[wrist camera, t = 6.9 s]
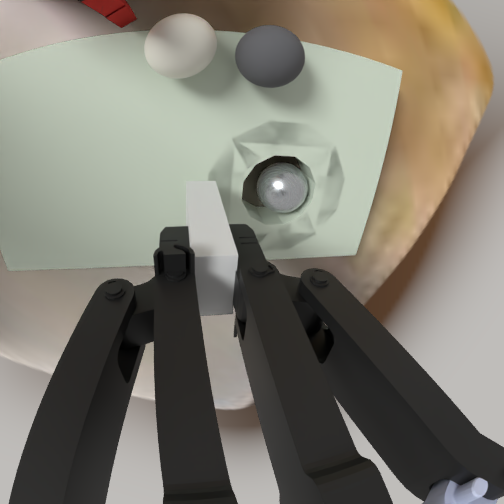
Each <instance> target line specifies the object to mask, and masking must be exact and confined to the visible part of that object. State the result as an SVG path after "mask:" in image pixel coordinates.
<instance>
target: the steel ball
mask: <svg viewBox="0 0 504 504" xmlns="http://www.w3.org/2000/svg"><path fill="white" fill-rule="evenodd" d="M307 191H308V185H307V180H306V178H305V176H304V174H303V173H302V171H301V170H300V169H299V168H297V167H296V166H294V165H292V164H289V163H285V162H280V163H274V164H272V165H270V166H268V167H267V168H265V169H264V170H263V171H262V173H261V174H260V176H259V178H258V181H257V194H258V197H259V199H260V201H261V202H262V204H263V205H264V206H265V207H267V208H268V209H270V210H271V211H274V212H278V213H287V212H291V211H293V210H295V209H297V208H298V207H299V206H301V204H302V203H303V202H304V200H305V198H306V196H307Z"/></svg>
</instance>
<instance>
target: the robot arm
mask: <svg viewBox="0 0 504 504" xmlns="http://www.w3.org/2000/svg"><path fill="white" fill-rule="evenodd" d="M153 258H154V268H155V277H153V278H152V279H151V280H150V281H148V282H146V283H144V284H141V285H137V286H133V284H132V283H130V282H129V281H127V280H124V279H111V280H108V281H106V282H104V283H102V284H101V285H100V286H99V287H98V288H97V290H96V291H95V293H94V295H93V297H92V298H91V300H90V302H89V304H88V305H87V307H86V309H85V311H84V313H83V315H82V316H81V318H80V320H79V322H78V324H77V326H76V328H75V330H74V332H73V334H72V336H71V338H70V340H69V342H68V344H67V346H66V348H65V350H64V352H63V354H62V356H61V358H60V360H59V362H58V364H57V367H56V369H55V371H54V373H53V375H52V378H51V380H50V382H49V385H48V387H47V389H46V391H45V394H44V396H43V399H42V401H41V404H40V406H39V408H38V411H37V414H36V416H35V419H34V421H33V424H32V427H31V430H30V432H29V435H28V438H27V441H26V444H25V447H24V450H23V453H22V456H21V460H20V463H19V466H18V469H17V473H16V477H15V480H14V484H13V488H12V492H11V496H10V500H9V504H105V502H106V496H107V492H108V487H109V481H110V477H111V472H112V467H113V464H114V459H115V455H116V450H117V446H118V442H119V438H120V434H121V430H122V426H123V422H124V419H125V415H126V411H127V407H128V404H129V400H130V397H131V393H132V390H133V386H134V383H135V379H136V376H137V372H138V369H139V366H140V363H141V359H142V356H143V353H144V350H145V344H147V343H150V342H153V341H154V379H155V402H156V418H157V430H158V431H157V432H158V443H159V453H160V462H161V471H162V479H163V487H164V497H163V504H238V503H237V500H236V497H235V494H234V492H233V490H232V487H231V483H230V479H229V475H228V471H227V466H226V462H225V457H224V452H223V447H222V443H221V438H220V433H219V428H218V423H217V417H216V412H215V407H214V401H213V396H212V390H211V384H210V378H209V372H208V366H207V360H206V353H205V347H204V340H203V333H202V326H201V319H200V316H207V315H222V314H233V306H234V308H235V312H236V317H235V327H234V337H237V334H238V338H239V342H240V347H241V351H242V355H243V359H244V363H245V367H246V371H247V375H248V378H249V382H250V386H251V390H252V394H253V398H254V402H255V405H256V409H257V413H258V417H259V420H260V424H261V428H262V431H263V435H264V439H265V442H266V446H267V449H268V453H269V456H270V460H271V463H272V467H273V470H274V474H275V477H276V481H277V484H278V488H279V493H280V504H393V503H392V500H391V498H390V495H389V493H388V490H387V488H386V486H385V483H384V481H383V479H382V476H381V474H380V472H379V470H378V468H377V467H376V465H375V464H374V463H373V462H372V461H371V460H370V459H367V458H364V457H362V456H361V455H360V454H359V453H358V452H357V450H356V447H355V445H354V443H353V440H352V438H351V436H350V433H349V431H348V428H347V426H346V424H345V421H344V419H343V417H342V414H341V412H340V410H339V407H338V405H337V403H336V400H335V398H336V399H337V400H338V402H339V403H340V404H341V406H342V407H343V408H344V410H345V411H346V412H347V414H348V415H349V416H350V418H351V419H352V420H353V422H354V423H355V424H356V426H357V427H358V428H359V430H360V431H361V432H362V433H363V435H364V436H365V437H366V438H367V440H368V441H369V442H370V444H371V445H372V446H373V448H374V449H375V450H376V452H377V453H378V454H379V456H380V457H381V458H382V459H383V460H384V462H385V463H386V465H387V466H388V467H389V468H390V470H391V471H392V472H393V474H394V475H395V476H396V477H397V479H398V480H399V481H400V482H401V483H402V484H403V485H404V487H405V488H406V489H408V490H409V491H410V492H411V493H412V494H414V495H415V496H416V497H418V498H419V499H421V500H422V501H424V502H423V503H422V504H496V503H497V500H498V498H500V497H502V496H504V447H502V446H500V445H499V444H497V443H495V442H494V441H492V440H490V439H488V438H487V437H485V436H484V435H482V434H480V433H479V432H478V430H476V428H475V427H474V426H473V425H472V423H471V422H470V421H469V420H468V419H467V418H466V416H465V415H464V414H463V413H462V412H461V411H460V410H459V408H458V407H457V406H456V405H455V404H454V403H453V401H451V399H450V398H449V397H448V396H447V395H446V394H445V393H444V391H443V390H442V389H441V388H440V387H439V386H438V385H437V383H436V382H435V381H434V380H433V379H432V378H431V377H430V376H429V375H428V374H427V372H426V371H425V370H424V369H423V368H422V367H421V366H420V365H419V364H418V363H417V362H416V361H415V359H414V358H413V357H412V356H411V355H410V354H409V353H408V352H407V351H406V350H405V349H404V348H403V347H402V345H401V344H399V342H398V341H397V340H396V339H395V338H394V337H393V336H392V335H391V334H390V333H389V332H388V331H387V330H386V329H385V328H384V327H383V326H382V325H381V323H380V322H379V321H378V320H377V319H376V318H375V317H374V316H373V315H372V314H371V313H370V312H369V311H368V310H367V309H366V308H365V307H364V306H363V305H362V304H361V303H360V302H359V301H358V300H357V299H356V298H355V297H354V296H353V295H352V294H351V293H350V292H349V291H348V290H347V289H346V288H345V287H344V286H343V285H342V284H341V283H340V282H339V281H338V280H337V279H336V278H335V277H334V276H333V275H332V274H330V273H329V272H327V271H325V270H322V269H316V268H313V269H308V270H305V271H304V272H303V273H302V274H301V278H297V277H291V276H286V275H282V274H280V273H279V271H278V269H277V268H276V267H275V266H274V265H273V264H271V263H270V262H267V261H266V258H265V256H264V254H263V251H262V249H261V247H260V244H259V242H258V240H257V238H256V235H255V233H254V230H253V229H252V228H250V227H249V226H248V225H247V224H229V223H228V220H227V217H226V214H225V210H224V207H223V204H222V201H221V197H220V194H219V191H218V187H217V184H216V181H186V226H175V227H165V228H164V229H163V230H162V231H161V233H160V240H159V248H157V249H156V250H155V252H154V254H153ZM324 323H325V324H326V325H327V326H328V327H327V326H326V325H325V324H324ZM333 395H334V396H335V398H334V396H333Z"/></svg>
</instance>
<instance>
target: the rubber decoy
mask: <svg viewBox="0 0 504 504" xmlns="http://www.w3.org/2000/svg"><path fill="white" fill-rule="evenodd" d="M235 61H236V65H237V67H238V69H239V71H240V73H241V74H242V75H243V76H244V77H245V78H246V79H247V80H248V81H250V82H251V83H253V84H255V85H257V86H261V87H265V88H276V87H281V86H284V85H286V84H288V83H290V82H292V81H293V80H294V79H296V77H297V76H298V75H299V74H300V73H301V71H302V69H303V66H304V63H305V52H304V48H303V45H302V43H301V42H300V40H299V39H298V37H297V36H296V35H295V34H293V33H292V32H291V31H289V30H287V29H285V28H283V27H280V26H275V25H263V26H259V27H256V28H254V29H252V30H250V31H248V32H247V33H246V34H245V35H244V36H243V37H242V38H241V39H240V41H239V42H238V44H237V47H236V51H235Z"/></svg>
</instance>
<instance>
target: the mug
mask: <svg viewBox="0 0 504 504" xmlns="http://www.w3.org/2000/svg"><path fill="white" fill-rule="evenodd" d="M78 1H80V2H82V3H84V4H85V5H87V6H89V7H90V8H92V9H94V10H95V11H97V12H99V13H100V14H102V15H103V16H105V17H106V18H107V19H108V20H110V21H111V22H113V23H115V24H116V25H118V26H119V27H121V28H122V27H124V26H126V25H128V24H129V23H131V22H133V21H134V20H136V19H137V18H136V16H135V14H134V13H133V11H132V9H131V7H130V6H129V4H128V3H127V1H126V0H78Z"/></svg>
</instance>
